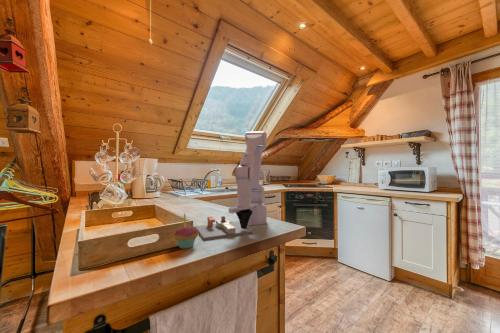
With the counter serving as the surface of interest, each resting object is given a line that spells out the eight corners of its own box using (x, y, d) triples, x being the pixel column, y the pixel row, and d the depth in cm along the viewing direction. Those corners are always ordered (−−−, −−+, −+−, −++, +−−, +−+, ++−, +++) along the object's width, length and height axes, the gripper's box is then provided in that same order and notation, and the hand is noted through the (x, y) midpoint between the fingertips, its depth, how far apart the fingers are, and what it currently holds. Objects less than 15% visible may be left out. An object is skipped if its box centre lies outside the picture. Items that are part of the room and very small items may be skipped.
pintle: (224, 225, 101) (224, 216, 101) (225, 226, 100) (225, 217, 99) (220, 226, 100) (220, 216, 100) (221, 227, 99) (222, 217, 99)
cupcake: (196, 250, 76) (196, 214, 75) (169, 251, 75) (169, 214, 75) (200, 241, 84) (200, 208, 84) (176, 241, 84) (176, 209, 83)
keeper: (211, 227, 102) (211, 216, 102) (215, 230, 97) (215, 218, 97) (207, 227, 101) (207, 216, 101) (210, 231, 96) (210, 219, 96)
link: (216, 225, 101) (216, 220, 101) (226, 223, 103) (226, 219, 103) (225, 234, 89) (225, 229, 89) (237, 232, 91) (237, 227, 91)
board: (238, 223, 108) (238, 221, 108) (252, 233, 94) (252, 231, 94) (195, 228, 100) (195, 226, 100) (203, 240, 85) (203, 237, 85)
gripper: (249, 192, 102) (249, 222, 102) (223, 195, 92) (223, 229, 92) (261, 194, 97) (261, 226, 97) (235, 198, 87) (235, 233, 87)
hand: (243, 228), depth 94 cm, fingers closed
